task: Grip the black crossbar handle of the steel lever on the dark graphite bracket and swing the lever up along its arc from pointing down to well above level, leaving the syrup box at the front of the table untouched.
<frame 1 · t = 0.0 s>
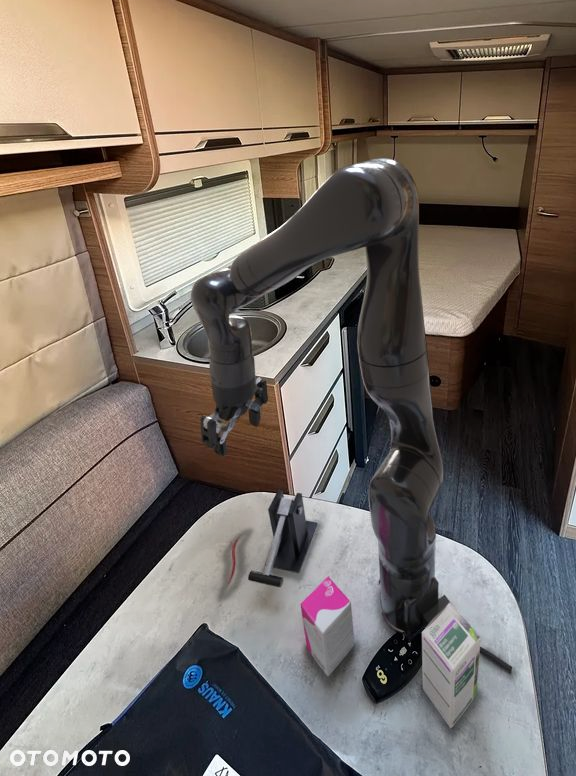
hand: (238, 437, 78), 22 cm above the table, tool pointing down, fingers open, 8 cm apart
syrup box: (448, 692, 59), on the table
bracket: (293, 546, 80), on the table
cayenne pepper: (234, 562, 78), on the table
supplement box: (331, 648, 64), on the table
lever: (277, 539, 72), point 9 cm above the table, hinge at -25.0°
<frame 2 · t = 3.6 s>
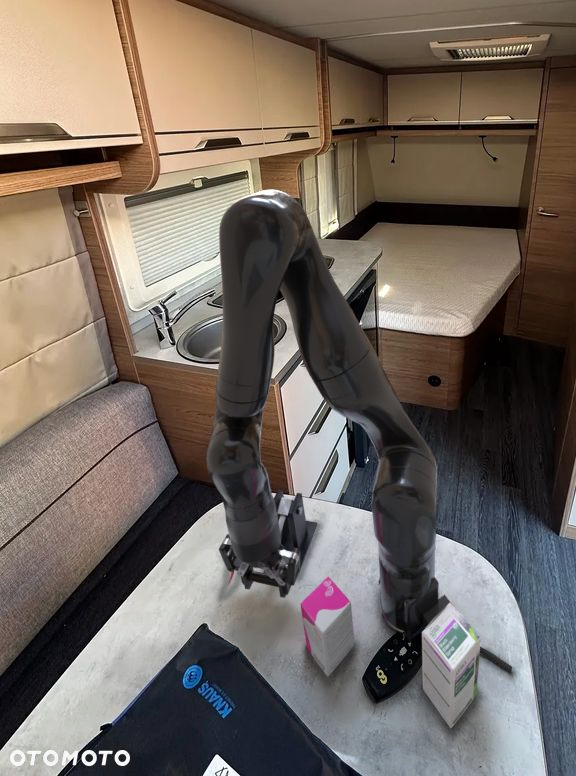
hand: (267, 587, 69), 4 cm above the table, tool pointing down, fingers closed on lever, 6 cm apart
lever: (277, 539, 72), point 9 cm above the table, hinge at -25.0°, touching gripper
everything else where it was.
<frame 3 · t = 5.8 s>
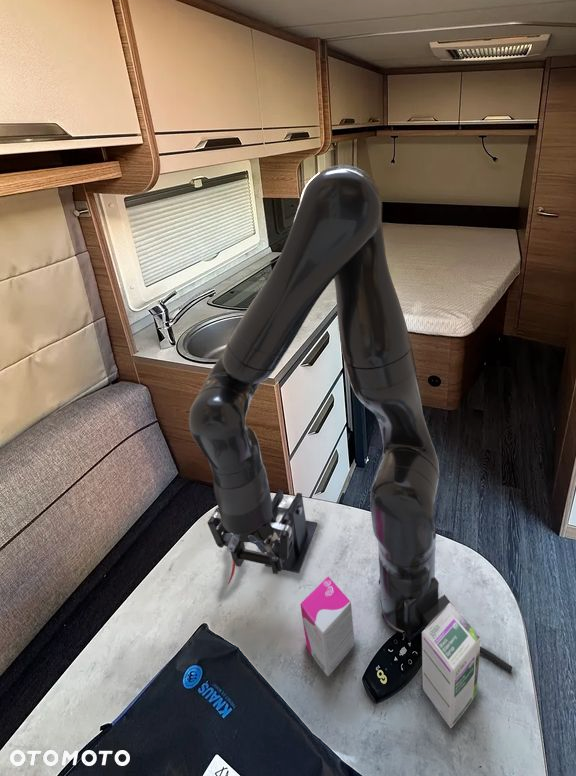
hand: (259, 564, 66), 11 cm above the table, tool pointing down, fingers closed on lever, 6 cm apart
lever: (273, 529, 71), point 12 cm above the table, hinge at 11.7°, touching gripper
everything else where it was.
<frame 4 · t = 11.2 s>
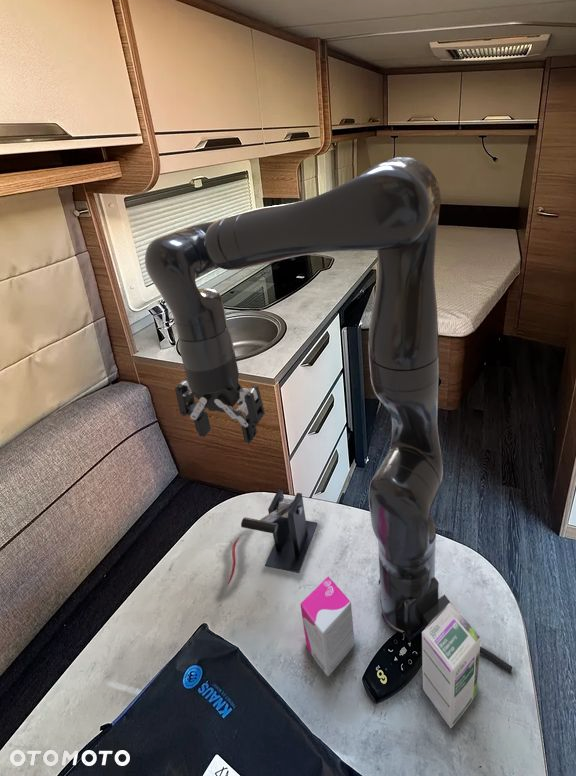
hand: (227, 436, 68), 30 cm above the table, tool pointing down, fingers open, 8 cm apart
lever: (274, 515, 71), point 14 cm above the table, hinge at 38.3°
everything else where it was.
at the end: lever at +38° (first picture: -25°); lever reached +39° during the clip, +38° at the end; syrup box moved 0.2 cm from its start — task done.
